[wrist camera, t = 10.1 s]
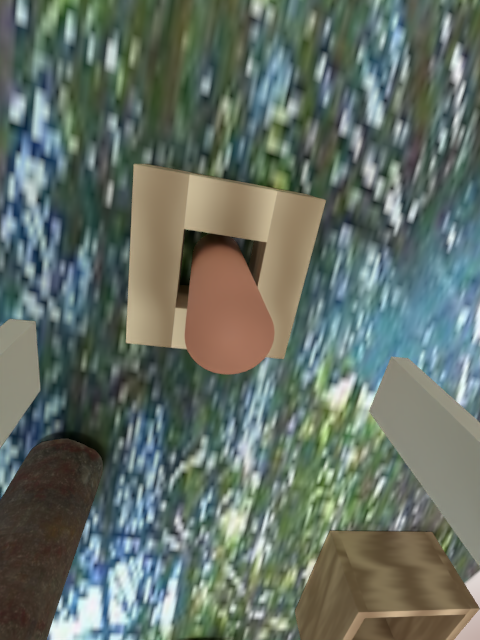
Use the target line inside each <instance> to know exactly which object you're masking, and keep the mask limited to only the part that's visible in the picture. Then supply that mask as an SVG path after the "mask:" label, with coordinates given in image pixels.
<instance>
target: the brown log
mask: <svg viewBox="0 0 480 640" xmlns="http://www.w3.org/2000/svg"><path fill="white" fill-rule="evenodd" d="M102 470H103V462H102V458H101V456H100V455H99V454H98V453H97V452H96V451H95V450H94V449H92V448H89V447H87V446H86V445H84V444H81V443H79V442H76V441H74V440H70V439H55V440H51V441H44V442H41V443H40V444H38V445H37V446H35V447H34V448H33V449H32V450H31V451H30V452H29V454H28V455H27V457H26V458H25V460H24V462H23V463H22V465H21V467H20V468H19V470H18V471H17V473H16V475H15V476H14V478H13V480H12V481H11V483H10V485H9V486H8V488H7V490H6V492H5V493H4V495H3V496H2V498H1V500H0V640H47V637H48V634H49V631H50V627H51V624H52V621H53V618H54V615H55V612H56V609H57V606H58V603H59V600H60V597H61V594H62V591H63V587H64V584H65V582H66V579H67V576H68V573H69V570H70V568H71V564H72V561H73V559H74V556H75V553H76V550H77V547H78V544H79V541H80V538H81V535H82V532H83V530H84V527H85V523H86V520H87V518H88V515H89V512H90V509H91V506H92V503H93V500H94V497H95V494H96V491H97V488H98V485H99V482H100V479H101V476H102Z"/></svg>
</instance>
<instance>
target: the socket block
mask: <svg viewBox="0 0 480 640" xmlns="http://www.w3.org/2000/svg"><path fill="white" fill-rule="evenodd" d="M325 202H326V200H324V199H320V198H317V197H314V196H310V195H307V194H302V193H297V192H292V191H287V190H281V189H276V188H271V187H265V186H260V185H255V184H250V183H244V182H239V181H234V180H229V179H223V178H218V177H213V176H207V175H202V174H197V173H192V172H186V171H181V170H176V169H170V168H165V167H160V166H155V165H149V164H134V171H133V194H132V217H131V239H130V262H129V285H128V307H127V330H126V343H131V344H141V345H150V346H160V347H170V348H180V349H187V348H186V344H185V324H186V314H187V305H188V295H189V286H186V285H180V277H181V267H182V258H183V249H184V240H185V231H186V229H187V230H193V231H199V232H205V233H212V234H218V235H224V236H230V237H237V238H243V239H249V240H254V242H253V247H252V252H251V257H250V262H249V270H250V272H251V274H252V276H253V279H254V281H255V283H256V285H257V287H258V290H259V292H260V294H261V296H262V298H263V301H264V303H265V305H266V307H267V309H268V312H269V314H270V316H271V318H272V321H273V324H274V330H275V333H274V341H273V345H272V347H271V349H270V351H269V353H268V354H267V356H266V357H269V358H279V359H284V356H285V352H286V348H287V345H288V341H289V337H290V333H291V330H292V326H293V322H294V318H295V315H296V311H297V307H298V303H299V300H300V296H301V292H302V288H303V285H304V281H305V277H306V273H307V270H308V266H309V262H310V258H311V255H312V251H313V247H314V243H315V240H316V236H317V232H318V228H319V225H320V221H321V217H322V213H323V210H324V206H325Z"/></svg>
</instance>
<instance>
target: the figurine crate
mask: <svg viewBox="0 0 480 640" xmlns="http://www.w3.org/2000/svg"><path fill="white" fill-rule="evenodd" d="M479 609H480V608H479V607H478V605H477V603H476V602H475V600H474V598H473V597H472V595H471V594H470V592H469V590H468V589H467V587H466V586H465V584H464V582H463V581H462V579H461V578H460V576H459V574H458V573H457V571H456V570H455V568H454V566H453V565H452V563H451V562H450V560H449V558H448V557H447V555H446V554H445V552H444V551H443V549H442V547H441V546H440V544H439V543H438V541H437V539H436V538H435V536H434V535H433V533H432V532H393V531H330V532H329V534H328V536H327V538H326V541H325V543H324V545H323V548H322V550H321V552H320V554H319V557H318V559H317V561H316V564H315V566H314V568H313V571H312V573H311V575H310V577H309V580H308V582H307V584H306V587H305V589H304V591H303V593H302V596H301V598H300V600H299V603H298V605H297V607H296V609H295V614H296V619H297V624H298V629H299V633H300V638H301V640H454V639H455V638H456V636H457V635H458V634H459V633H460V631H461V630H462V629H463V628H464V627H465V626H466V624H467V623H468V622H469V621H470V620H471V618H472V617H473V616H474V615H475V614H476V612H477V611H478V610H479Z"/></svg>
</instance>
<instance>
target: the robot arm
mask: <svg viewBox="0 0 480 640" xmlns="http://www.w3.org/2000/svg"><path fill="white" fill-rule="evenodd" d="M39 391H40V378H39V364H38V351H37V337H36V323H35V321H26V320H16V319H9V320H8V321H7V322H5V323H4V324H3V325H2V326H1V327H0V448H1V447H2V445H3V444H4V442H5V441H6V439H7V438H8V436H9V435H10V434H11V432H12V431H13V429H14V428H15V426H16V425H17V423H18V422H19V420H20V419H21V418H22V416H23V415H24V413H25V412H26V410H27V409H28V407H29V406H30V404H31V403H32V402H33V400H34V399H35V397H36V396H37V394H38V393H39ZM369 412H370V413H371V415H372V416H373V418H374V419H375V421H376V422H377V423H378V425H379V426H380V428H381V429H382V430H383V432H384V433H385V435H386V436H387V437H388V439H389V440H390V442H391V443H392V444H393V446H394V447H395V449H396V450H397V451H398V453H399V454H400V456H401V457H402V458H403V460H404V461H405V463H406V464H407V465H408V467H409V468H410V470H411V471H412V472H413V474H414V475H415V477H416V478H417V480H418V481H419V482H420V484H421V485H422V487H423V488H424V489H425V491H426V492H427V494H428V495H429V496H430V498H431V499H432V501H433V502H434V503H435V505H436V506H437V508H438V509H439V510H440V512H441V513H442V515H443V516H444V517H445V519H446V520H447V522H448V523H449V524H450V526H451V527H452V529H453V530H454V532H455V533H456V534H457V536H458V537H459V539H460V540H461V541H462V543H463V544H464V546H465V547H466V548H467V550H468V551H469V553H470V554H471V555H472V557H473V558H474V560H475V561H476V562H477V564H478V565H479V567H480V422H478V421H477V420H476V419H475V418H474V417H473V416H472V415H471V414H470V413H468V412H467V411H466V410H465V409H464V408H463V407H462V406H461V405H459V404H458V403H457V402H456V401H455V400H454V399H453V398H452V397H451V396H449V395H448V394H447V393H446V392H445V391H444V390H443V389H442V388H441V387H439V386H438V385H437V384H436V383H435V382H434V381H433V380H432V379H431V378H429V377H428V376H427V375H426V374H425V373H424V372H423V371H422V370H421V369H419V368H418V367H417V366H416V365H415V364H414V363H413V362H412V361H411V360H409V359H408V358H399V357H391V359H390V361H389V364H388V366H387V369H386V371H385V373H384V376H383V378H382V381H381V383H380V386H379V388H378V391H377V393H376V396H375V398H374V400H373V403H372V405H371V408H370V410H369Z"/></svg>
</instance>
